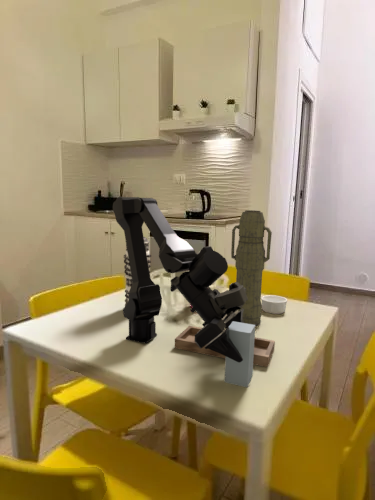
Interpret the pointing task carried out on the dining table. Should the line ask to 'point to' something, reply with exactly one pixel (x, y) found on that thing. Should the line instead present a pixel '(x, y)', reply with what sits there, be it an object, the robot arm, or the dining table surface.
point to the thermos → (251, 261)
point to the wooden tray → (187, 342)
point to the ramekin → (273, 304)
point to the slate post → (244, 343)
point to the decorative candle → (128, 270)
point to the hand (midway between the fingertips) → (246, 351)
